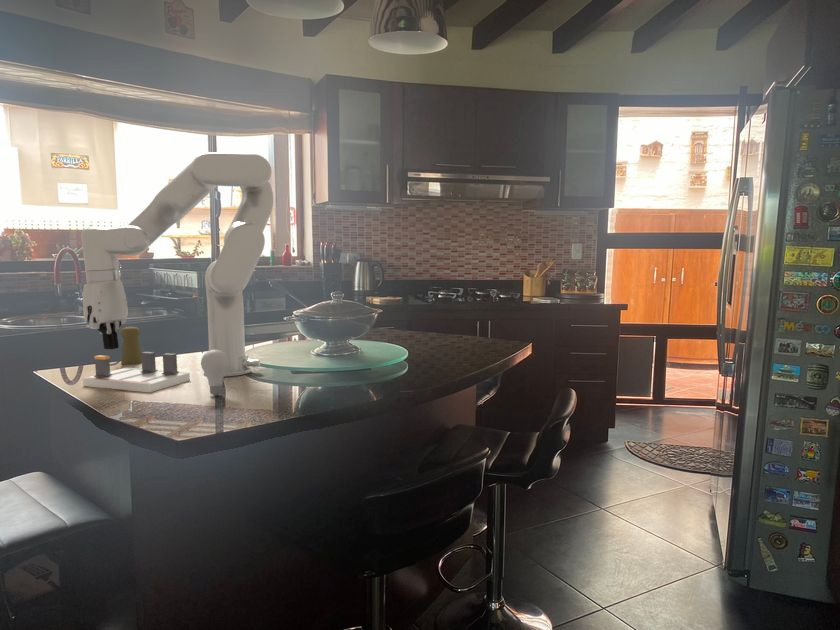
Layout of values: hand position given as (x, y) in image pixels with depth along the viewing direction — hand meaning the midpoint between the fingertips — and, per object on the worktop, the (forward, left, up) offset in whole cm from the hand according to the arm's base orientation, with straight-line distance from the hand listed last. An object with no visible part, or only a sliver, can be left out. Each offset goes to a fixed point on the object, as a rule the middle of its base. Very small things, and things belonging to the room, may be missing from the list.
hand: (111, 348), depth 151 cm
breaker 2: (-14, -1, -7) cm, 16 cm away
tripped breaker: (+1, +2, -7) cm, 7 cm away
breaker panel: (-6, 0, -9) cm, 11 cm away
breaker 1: (-8, -4, -7) cm, 11 cm away
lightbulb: (-31, +13, -9) cm, 35 cm away
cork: (+9, -27, -9) cm, 30 cm away
